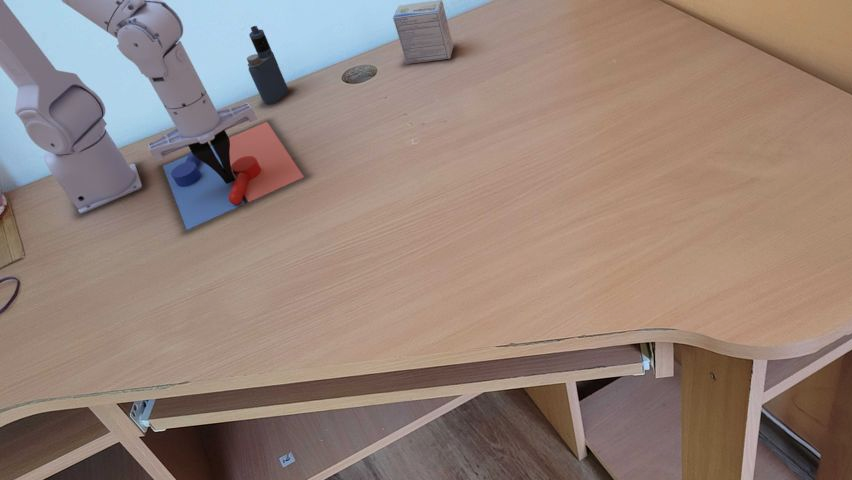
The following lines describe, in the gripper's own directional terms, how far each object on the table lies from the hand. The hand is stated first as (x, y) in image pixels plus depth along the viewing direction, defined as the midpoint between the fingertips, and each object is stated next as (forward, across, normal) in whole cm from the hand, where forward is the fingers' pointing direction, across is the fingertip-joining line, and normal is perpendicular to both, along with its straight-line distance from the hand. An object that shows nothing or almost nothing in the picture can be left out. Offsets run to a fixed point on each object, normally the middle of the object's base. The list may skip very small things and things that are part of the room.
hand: (229, 179), depth 104 cm
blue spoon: (+1, -4, +9) cm, 10 cm away
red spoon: (+1, +2, -2) cm, 2 cm away
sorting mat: (+1, +1, +4) cm, 4 cm away
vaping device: (+1, +13, +20) cm, 24 cm away
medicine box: (+1, +39, +13) cm, 41 cm away
